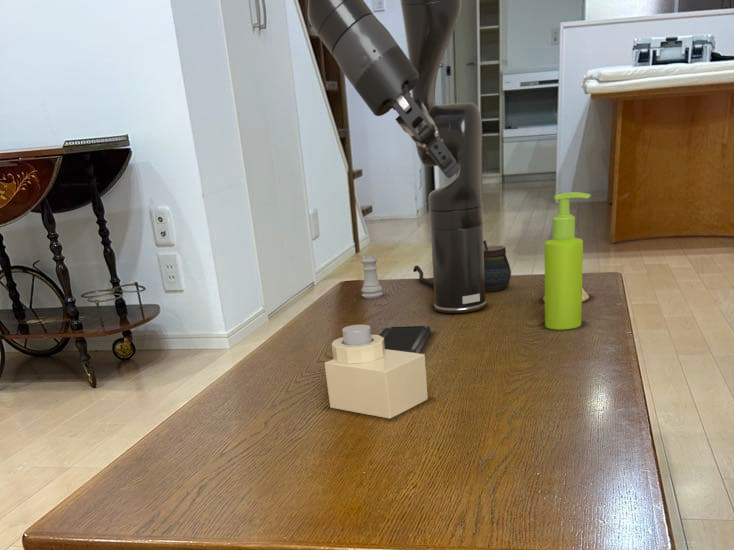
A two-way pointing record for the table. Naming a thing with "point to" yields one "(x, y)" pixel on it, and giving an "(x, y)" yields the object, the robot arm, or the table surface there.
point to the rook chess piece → (370, 278)
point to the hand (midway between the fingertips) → (452, 171)
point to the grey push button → (357, 335)
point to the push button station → (375, 378)
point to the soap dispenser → (564, 269)
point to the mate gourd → (496, 268)
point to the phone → (405, 338)
